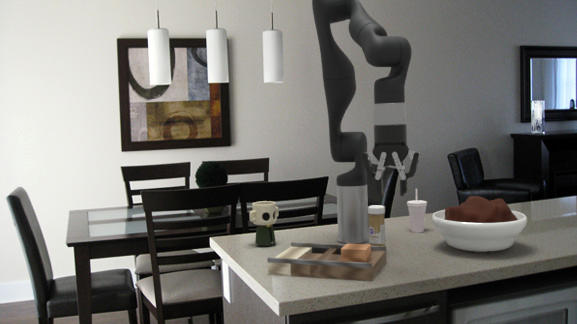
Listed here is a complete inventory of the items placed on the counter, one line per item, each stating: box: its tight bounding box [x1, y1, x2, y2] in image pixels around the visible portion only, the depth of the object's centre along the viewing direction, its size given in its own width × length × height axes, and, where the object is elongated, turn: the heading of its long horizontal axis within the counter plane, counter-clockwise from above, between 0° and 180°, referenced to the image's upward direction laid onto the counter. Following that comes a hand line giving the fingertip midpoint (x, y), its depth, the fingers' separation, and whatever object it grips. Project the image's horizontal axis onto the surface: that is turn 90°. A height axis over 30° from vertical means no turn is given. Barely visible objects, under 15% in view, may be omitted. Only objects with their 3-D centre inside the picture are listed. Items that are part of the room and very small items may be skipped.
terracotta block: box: [341, 243, 371, 263], centre depth 140 cm, size 6×6×4 cm
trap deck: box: [267, 241, 387, 282], centre depth 146 cm, size 26×18×4 cm
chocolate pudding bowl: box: [431, 195, 528, 253], centre depth 160 cm, size 25×25×15 cm
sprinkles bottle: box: [368, 204, 386, 246], centre depth 157 cm, size 5×5×13 cm
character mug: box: [249, 200, 279, 247], centre depth 174 cm, size 11×7×13 cm, turn 131°
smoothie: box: [406, 188, 428, 234], centre depth 185 cm, size 6×6×14 cm
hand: (391, 195), depth 136 cm, fingers open, 4 cm apart
